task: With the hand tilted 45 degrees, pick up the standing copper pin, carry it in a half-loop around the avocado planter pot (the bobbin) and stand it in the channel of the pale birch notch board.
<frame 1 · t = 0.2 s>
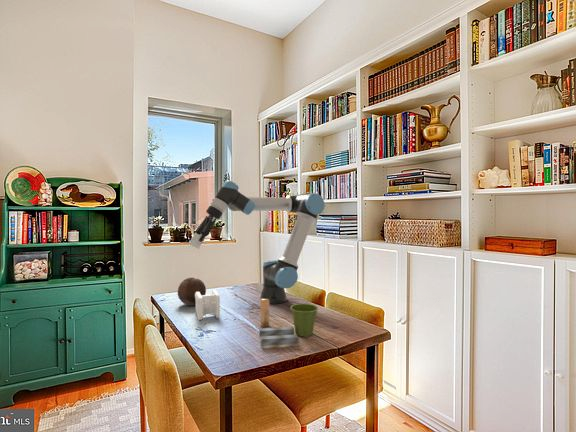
hand: (193, 246, 166), 35 cm above the table, tool tilted 35°, fingers open, 13 cm apart
plant pot: (304, 334, 146), on the table
notch board: (277, 341, 138), on the table
wooden sphere: (192, 305, 192), on the table
copper pin: (265, 325, 156), on the table
cable organizer: (207, 317, 171), on the table
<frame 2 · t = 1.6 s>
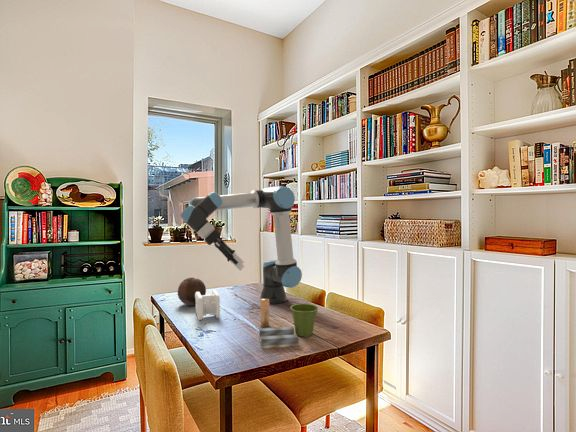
hand: (242, 266, 162), 26 cm above the table, tool tilted 45°, fingers open, 13 cm apart
nothing on the table moved.
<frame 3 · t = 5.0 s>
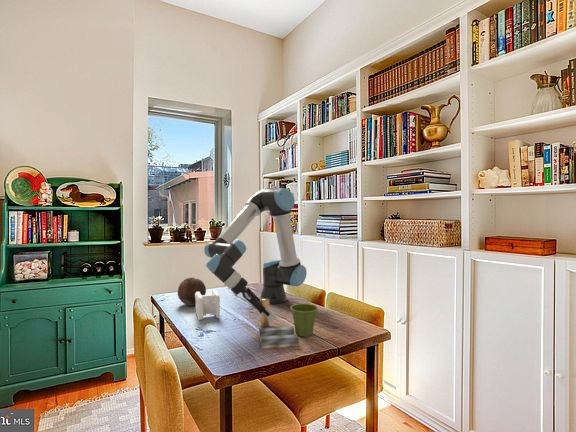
hand: (273, 317, 157), 3 cm above the table, tool tilted 45°, fingers closed on copper pin, 4 cm apart
copper pin: (264, 325, 157), on the table, touching gripper
everything else where it was.
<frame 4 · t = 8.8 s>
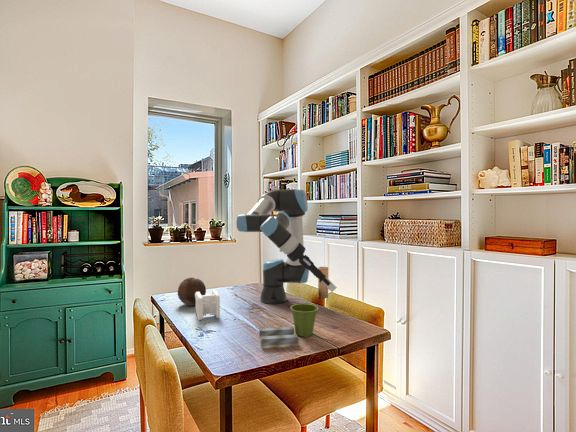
hand: (332, 288, 142), 20 cm above the table, tool tilted 45°, fingers closed on copper pin, 4 cm apart
copper pin: (323, 297, 141), point 17 cm above the table, touching gripper
everything else where it was.
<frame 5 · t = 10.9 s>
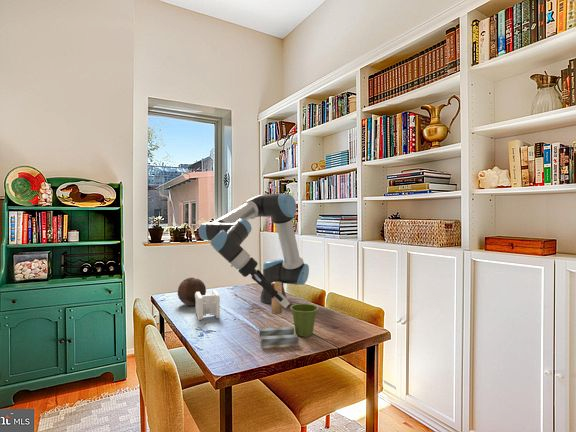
hand: (286, 303, 138), 15 cm above the table, tool tilted 45°, fingers closed on copper pin, 4 cm apart
copper pin: (276, 312, 137), point 12 cm above the table, touching gripper
everything else where it was.
when the fingers open (5 cm above the table, at t = 12.8 s): copper pin stays where it is, resting on notch board.
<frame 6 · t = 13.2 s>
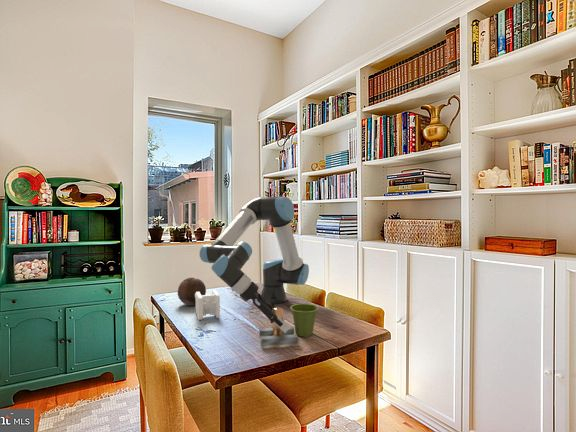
hand: (285, 325, 138), 6 cm above the table, tool tilted 45°, fingers open, 10 cm apart
copper pin: (277, 338, 138), point 1 cm above the table, touching notch board
everything else where it was.
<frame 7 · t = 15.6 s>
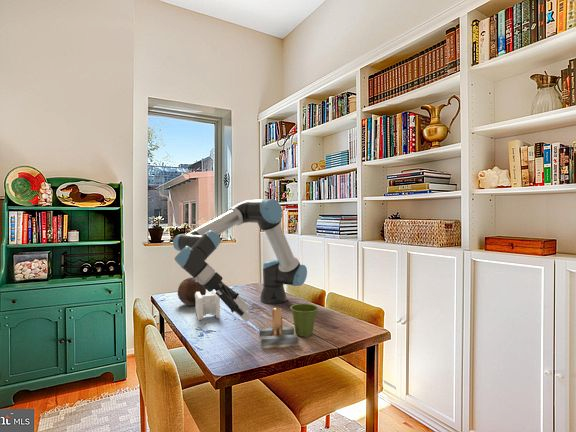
hand: (248, 313, 140), 10 cm above the table, tool tilted 45°, fingers open, 13 cm apart
nothing on the table moved.
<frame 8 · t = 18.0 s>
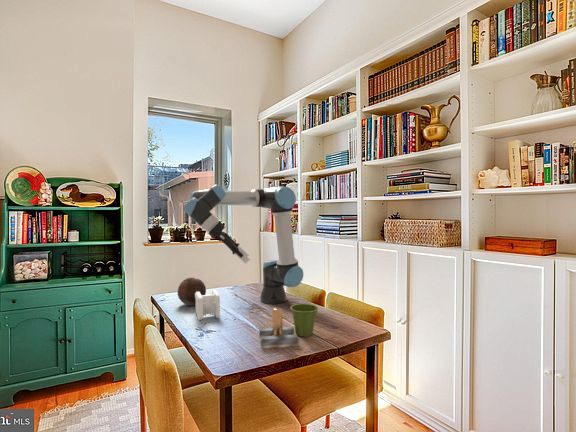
hand: (247, 259, 159), 30 cm above the table, tool tilted 45°, fingers open, 13 cm apart
nothing on the table moved.
at the end: copper pin 0.1 cm from the notch board (horizontally); copper pin tilted 2°; copper pin point 1.1 cm above the table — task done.
